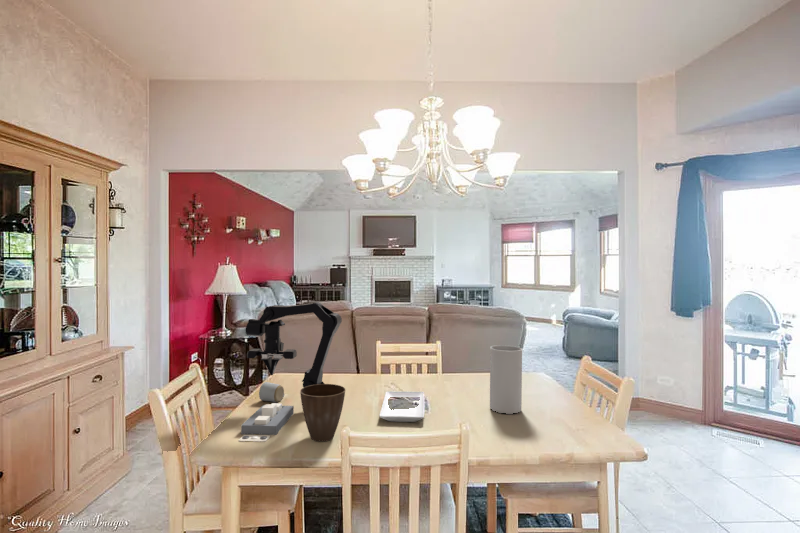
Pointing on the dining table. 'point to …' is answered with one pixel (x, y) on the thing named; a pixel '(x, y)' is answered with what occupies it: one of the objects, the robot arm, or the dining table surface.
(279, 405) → the button
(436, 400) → the dining table surface
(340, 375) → the dining table surface
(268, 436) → the pattern card
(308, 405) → the plant pot
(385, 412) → the tray
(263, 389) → the ceramic mug
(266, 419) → the button
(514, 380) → the cylinder vase
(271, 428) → the button board
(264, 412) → the button middle
